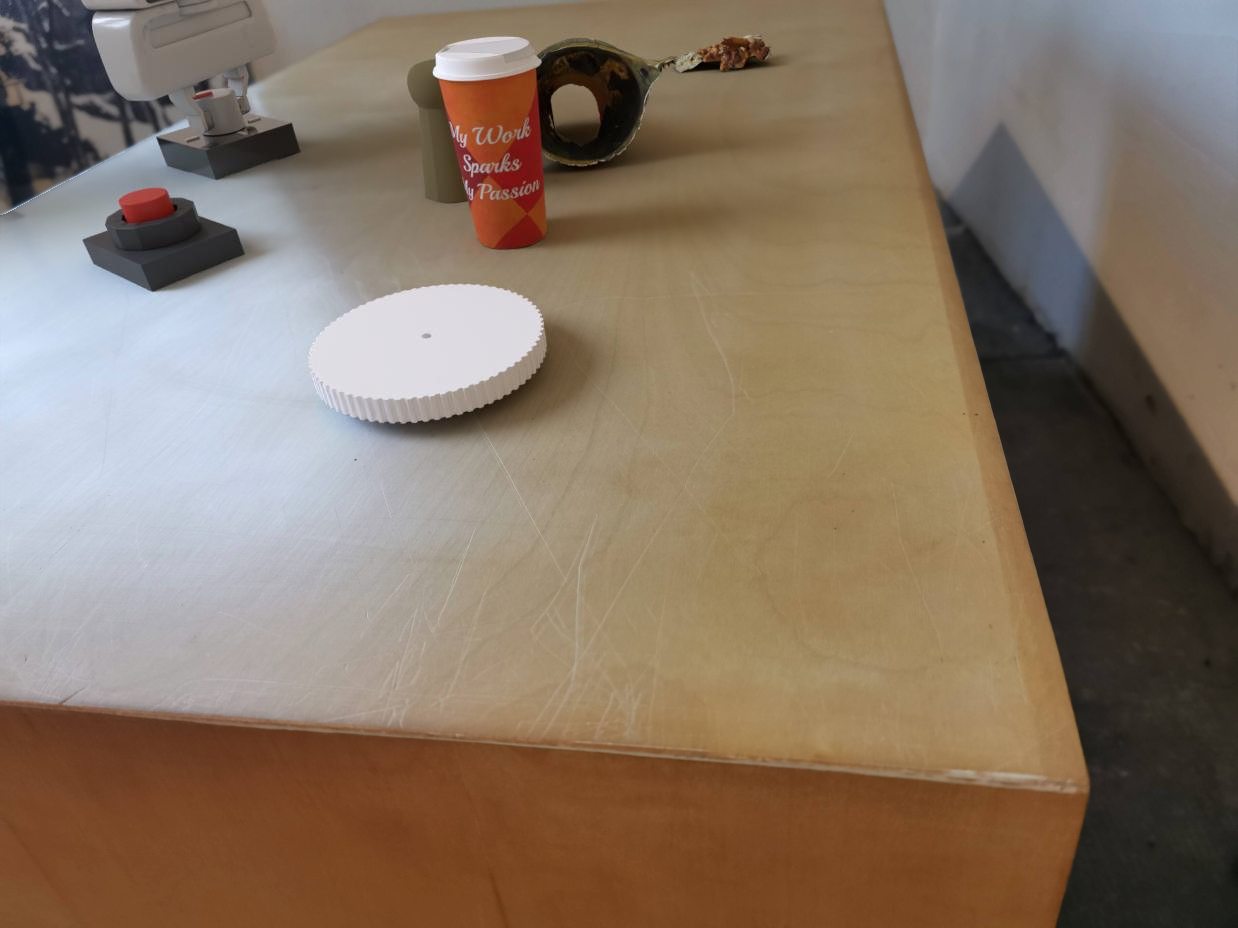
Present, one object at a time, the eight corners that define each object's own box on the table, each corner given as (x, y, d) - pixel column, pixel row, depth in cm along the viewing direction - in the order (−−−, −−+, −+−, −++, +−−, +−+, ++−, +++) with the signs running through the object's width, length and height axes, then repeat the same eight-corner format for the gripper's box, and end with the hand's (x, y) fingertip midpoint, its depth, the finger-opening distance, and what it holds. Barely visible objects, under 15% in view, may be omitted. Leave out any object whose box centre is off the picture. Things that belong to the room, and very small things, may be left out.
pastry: (669, 64, 111) (668, 34, 109) (760, 54, 112) (761, 23, 110) (680, 77, 106) (679, 45, 104) (776, 66, 107) (777, 34, 104)
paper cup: (452, 254, 67) (413, 62, 59) (480, 217, 73) (449, 37, 65) (549, 255, 66) (523, 57, 57) (570, 216, 72) (549, 32, 63)
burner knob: (231, 121, 93) (219, 83, 90) (253, 126, 90) (241, 88, 88) (193, 132, 90) (180, 94, 88) (215, 138, 88) (202, 98, 85)
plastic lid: (591, 380, 51) (587, 342, 49) (365, 470, 45) (353, 430, 44) (488, 298, 61) (482, 265, 59) (291, 364, 55) (279, 329, 54)
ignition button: (119, 220, 68) (109, 199, 67) (161, 205, 70) (153, 184, 69) (140, 229, 66) (131, 207, 65) (184, 213, 69) (175, 192, 68)
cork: (465, 174, 82) (443, 50, 76) (504, 187, 79) (484, 57, 72) (412, 193, 79) (384, 65, 72) (450, 207, 76) (424, 74, 69)
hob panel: (166, 165, 92) (154, 135, 90) (249, 139, 98) (240, 110, 96) (216, 180, 86) (204, 148, 84) (300, 151, 92) (291, 121, 90)
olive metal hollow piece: (631, 20, 90) (651, -16, 73) (675, 125, 94) (703, 114, 77) (484, 96, 91) (470, 78, 74) (533, 196, 95) (531, 201, 78)
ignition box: (93, 264, 71) (71, 217, 69) (183, 231, 76) (165, 186, 73) (152, 292, 66) (130, 242, 63) (245, 254, 70) (228, 207, 68)
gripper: (217, -45, 90) (260, 94, 98) (61, -8, 75) (127, 153, 83) (266, -47, 88) (306, 95, 96) (117, -10, 73) (179, 155, 81)
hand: (222, 122), depth 90 cm, fingers closed on burner knob, 4 cm apart
